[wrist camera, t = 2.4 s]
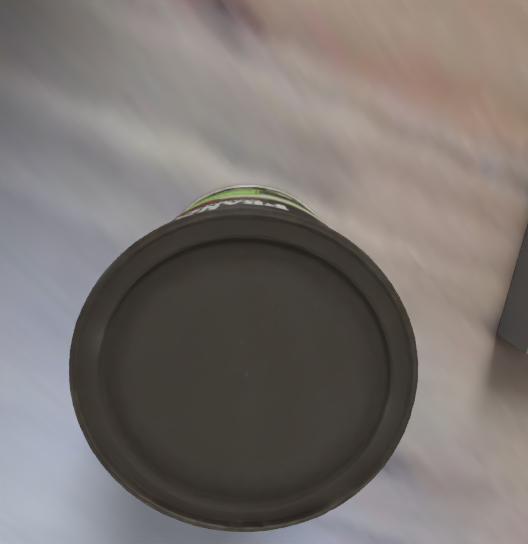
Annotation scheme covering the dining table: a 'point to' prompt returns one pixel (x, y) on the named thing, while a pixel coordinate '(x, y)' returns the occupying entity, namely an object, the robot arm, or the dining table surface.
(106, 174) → the dining table surface
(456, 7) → the dining table surface
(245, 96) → the dining table surface
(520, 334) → the pedestal
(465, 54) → the dining table surface
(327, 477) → the coffee can
